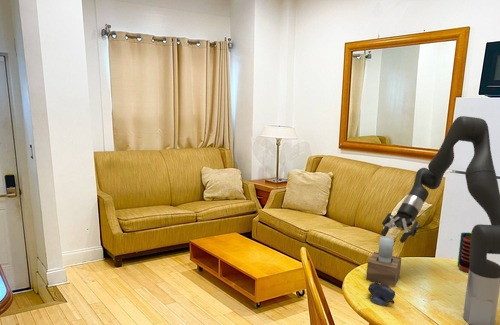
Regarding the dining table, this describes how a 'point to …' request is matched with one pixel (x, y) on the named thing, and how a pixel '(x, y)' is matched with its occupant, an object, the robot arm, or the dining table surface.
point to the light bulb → (385, 249)
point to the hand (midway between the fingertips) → (391, 238)
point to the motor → (464, 252)
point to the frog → (381, 293)
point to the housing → (383, 270)
